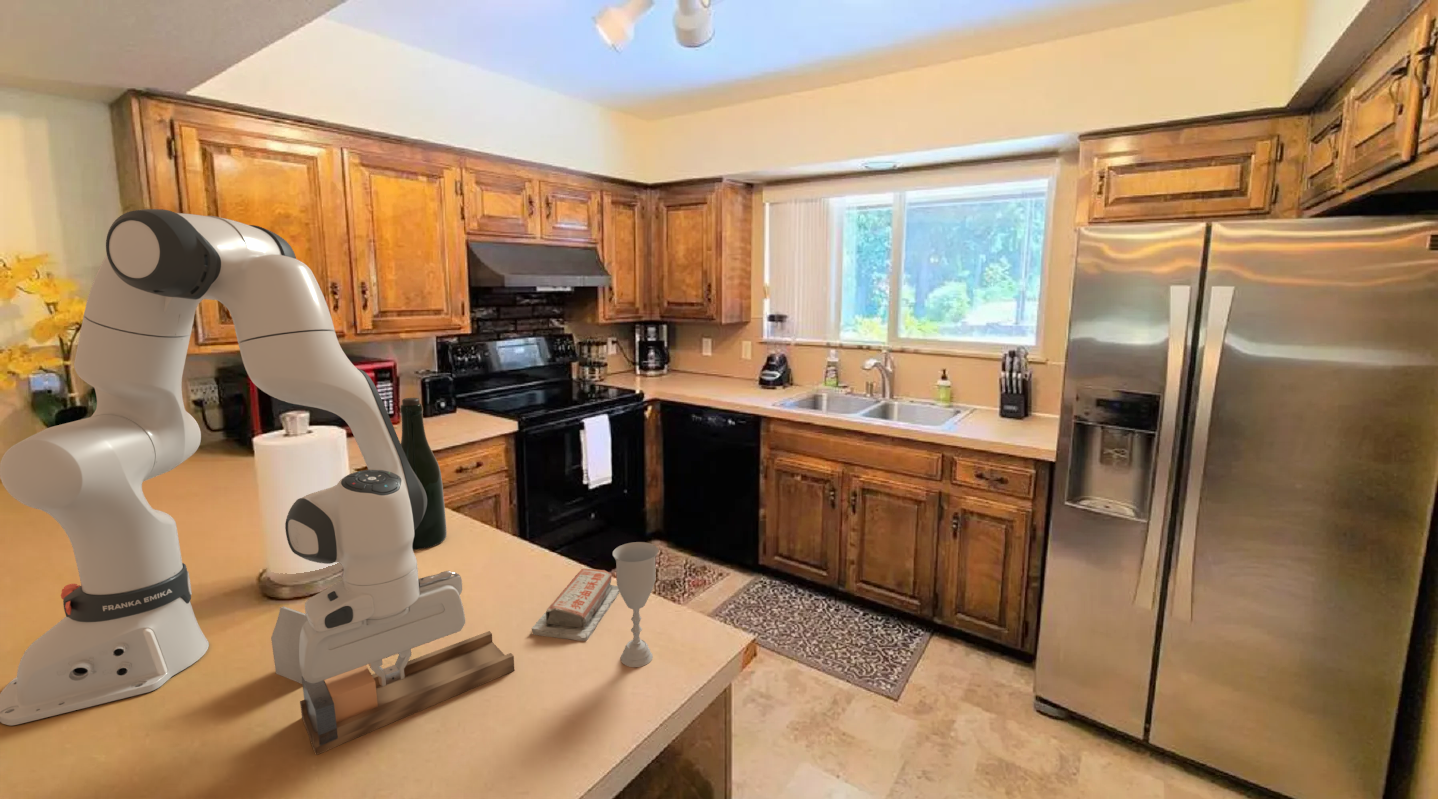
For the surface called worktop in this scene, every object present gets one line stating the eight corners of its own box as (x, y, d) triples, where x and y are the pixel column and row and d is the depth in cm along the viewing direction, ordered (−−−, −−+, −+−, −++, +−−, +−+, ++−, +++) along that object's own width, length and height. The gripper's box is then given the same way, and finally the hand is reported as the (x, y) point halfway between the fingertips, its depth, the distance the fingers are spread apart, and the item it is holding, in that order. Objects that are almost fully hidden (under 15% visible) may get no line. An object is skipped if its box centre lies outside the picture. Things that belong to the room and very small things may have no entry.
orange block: (335, 731, 80) (332, 697, 79) (325, 708, 85) (321, 675, 84) (378, 714, 84) (375, 681, 83) (366, 692, 88) (363, 660, 87)
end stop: (319, 746, 78) (315, 710, 77) (305, 709, 84) (301, 676, 83) (337, 738, 79) (334, 703, 78) (322, 703, 86) (318, 670, 85)
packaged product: (572, 563, 121) (621, 568, 120) (573, 586, 122) (621, 591, 120) (529, 611, 104) (586, 617, 102) (530, 637, 105) (587, 644, 103)
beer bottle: (422, 554, 134) (410, 404, 128) (384, 547, 137) (371, 400, 131) (457, 536, 144) (447, 396, 138) (421, 529, 147) (410, 392, 141)
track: (315, 755, 78) (313, 737, 77) (301, 717, 84) (299, 701, 84) (514, 670, 95) (513, 655, 95) (490, 644, 101) (489, 630, 101)
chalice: (638, 676, 94) (637, 566, 91) (604, 661, 98) (602, 554, 94) (667, 653, 100) (667, 548, 97) (634, 639, 104) (633, 538, 100)
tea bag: (305, 685, 91) (298, 623, 89) (275, 673, 93) (267, 612, 92) (329, 671, 94) (323, 610, 92) (300, 660, 97) (293, 601, 95)
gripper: (453, 559, 93) (459, 643, 96) (290, 605, 80) (302, 701, 83) (468, 574, 89) (474, 661, 91) (299, 626, 75) (311, 726, 78)
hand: (391, 681), depth 87 cm, fingers closed
